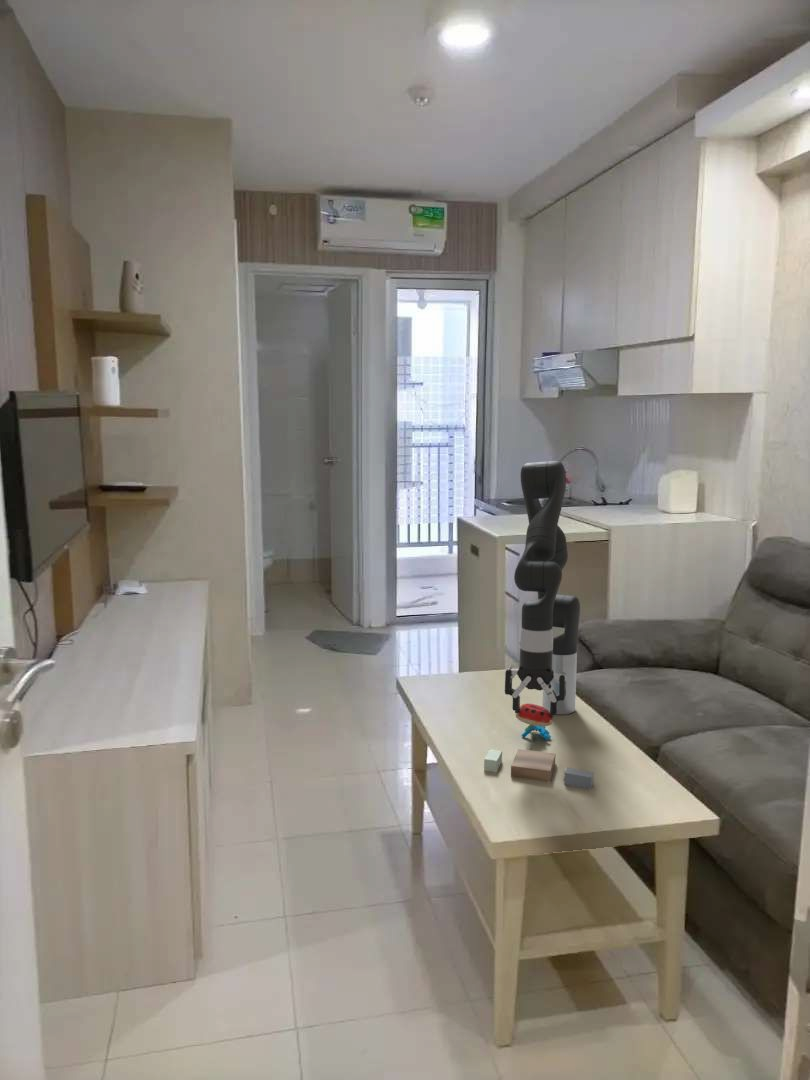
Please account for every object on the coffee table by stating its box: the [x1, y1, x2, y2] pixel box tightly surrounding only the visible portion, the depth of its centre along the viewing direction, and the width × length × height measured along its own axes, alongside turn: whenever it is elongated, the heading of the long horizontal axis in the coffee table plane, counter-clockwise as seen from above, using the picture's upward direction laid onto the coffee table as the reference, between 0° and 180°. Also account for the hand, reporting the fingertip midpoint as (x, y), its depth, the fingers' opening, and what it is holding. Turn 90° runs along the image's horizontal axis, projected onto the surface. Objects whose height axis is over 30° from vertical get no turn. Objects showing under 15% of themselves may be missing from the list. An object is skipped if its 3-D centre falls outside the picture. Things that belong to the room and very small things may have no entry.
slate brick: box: [563, 767, 595, 790], centre depth 181 cm, size 6×3×3 cm, turn 66°
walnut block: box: [510, 748, 556, 782], centre depth 188 cm, size 10×9×3 cm
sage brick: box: [483, 748, 503, 773], centre depth 190 cm, size 6×3×3 cm, turn 161°
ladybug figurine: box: [515, 703, 554, 727], centre depth 187 cm, size 7×10×4 cm
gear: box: [521, 724, 552, 741], centre depth 208 cm, size 11×6×10 cm
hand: (534, 714), depth 186 cm, fingers closed on ladybug figurine, 7 cm apart
